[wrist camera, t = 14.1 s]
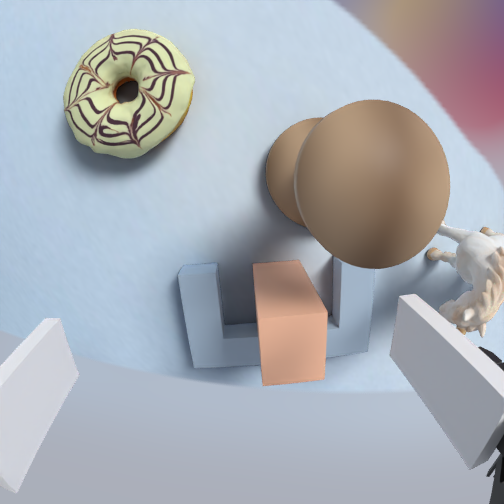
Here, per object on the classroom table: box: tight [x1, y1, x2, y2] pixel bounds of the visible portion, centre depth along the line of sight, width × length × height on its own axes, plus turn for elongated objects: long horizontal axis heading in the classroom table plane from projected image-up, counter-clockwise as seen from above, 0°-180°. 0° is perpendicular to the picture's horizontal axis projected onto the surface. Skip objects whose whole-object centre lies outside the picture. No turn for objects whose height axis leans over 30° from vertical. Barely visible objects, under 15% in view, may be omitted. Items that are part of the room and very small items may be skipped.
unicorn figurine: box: [427, 220, 504, 338], centre depth 21 cm, size 7×20×13 cm, turn 103°
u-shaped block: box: [178, 256, 375, 368], centre depth 28 cm, size 16×9×2 cm, turn 94°
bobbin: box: [266, 100, 450, 269], centre depth 20 cm, size 9×9×12 cm
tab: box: [252, 260, 328, 386], centre depth 23 cm, size 4×5×10 cm
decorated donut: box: [63, 29, 195, 158], centre depth 22 cm, size 10×11×4 cm
